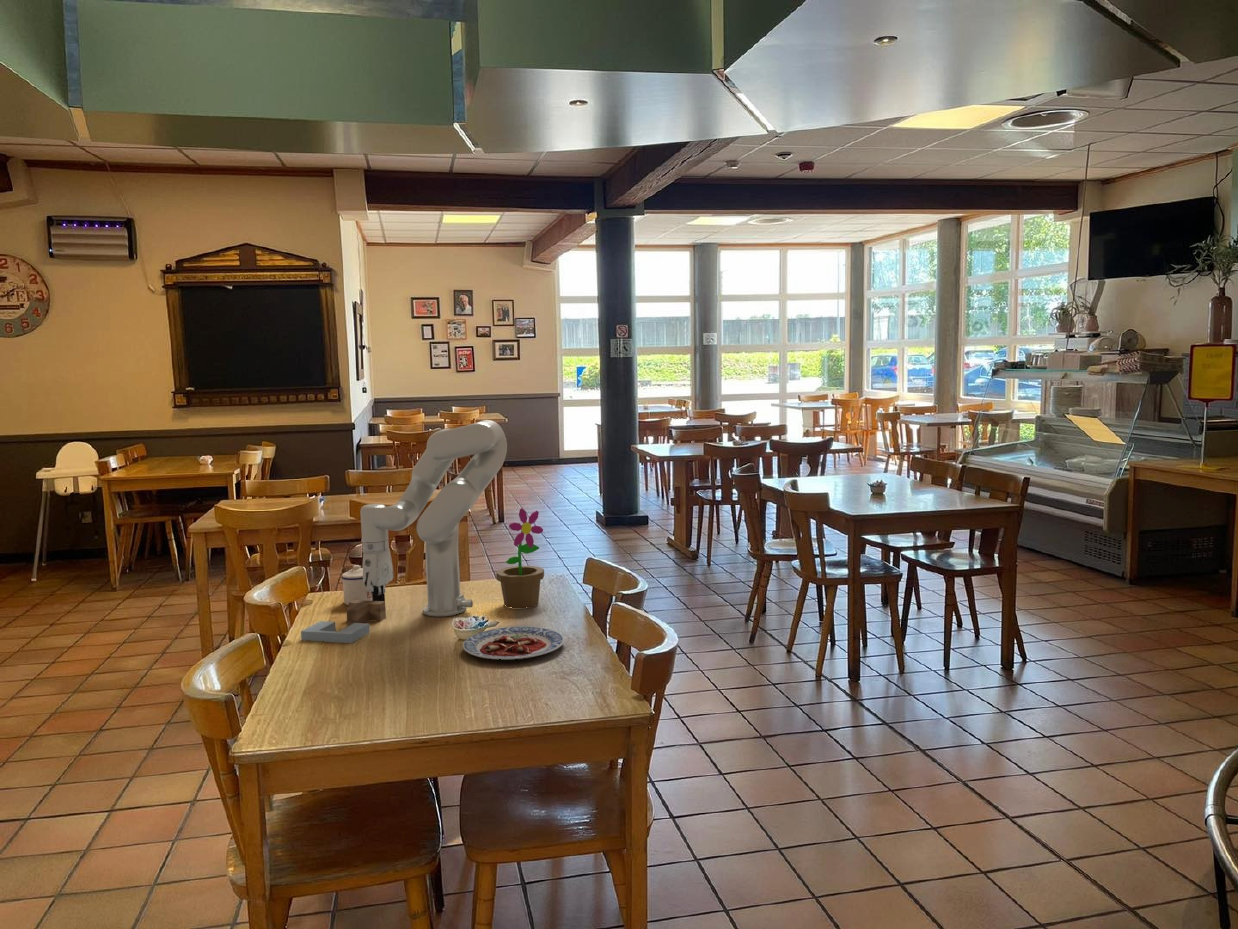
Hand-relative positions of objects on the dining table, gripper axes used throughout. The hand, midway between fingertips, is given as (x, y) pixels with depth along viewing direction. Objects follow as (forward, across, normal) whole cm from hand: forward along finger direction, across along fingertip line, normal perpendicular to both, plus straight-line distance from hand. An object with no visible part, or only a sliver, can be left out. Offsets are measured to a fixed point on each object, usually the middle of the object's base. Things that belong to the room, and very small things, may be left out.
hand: (379, 607), depth 267 cm
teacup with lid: (+2, +10, +13) cm, 17 cm away
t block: (+2, -10, 0) cm, 10 cm away
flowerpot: (+2, +16, -39) cm, 42 cm away
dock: (+2, -23, 0) cm, 23 cm away
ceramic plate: (+2, -24, -52) cm, 58 cm away
